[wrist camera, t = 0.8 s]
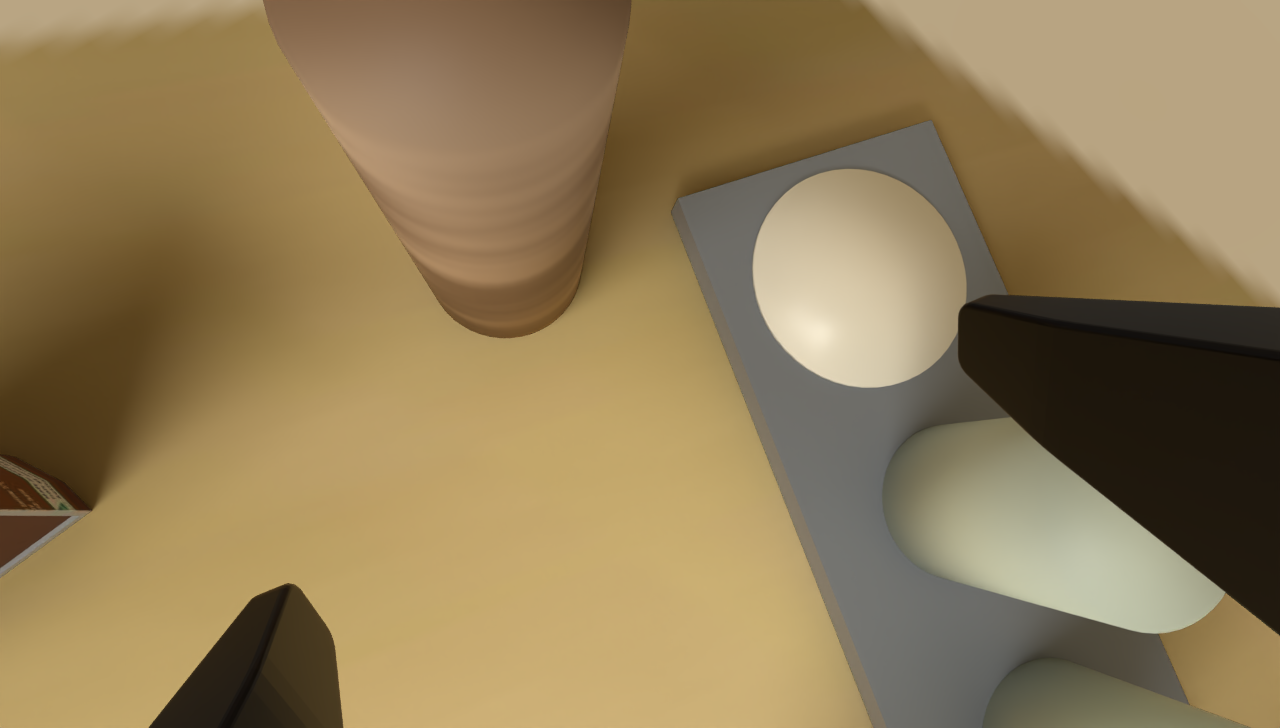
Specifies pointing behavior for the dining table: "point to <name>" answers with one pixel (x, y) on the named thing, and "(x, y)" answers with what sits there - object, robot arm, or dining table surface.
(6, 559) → the food container
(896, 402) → the slate board
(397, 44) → the walnut post
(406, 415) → the dining table surface
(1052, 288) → the dining table surface
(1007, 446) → the sage posts
